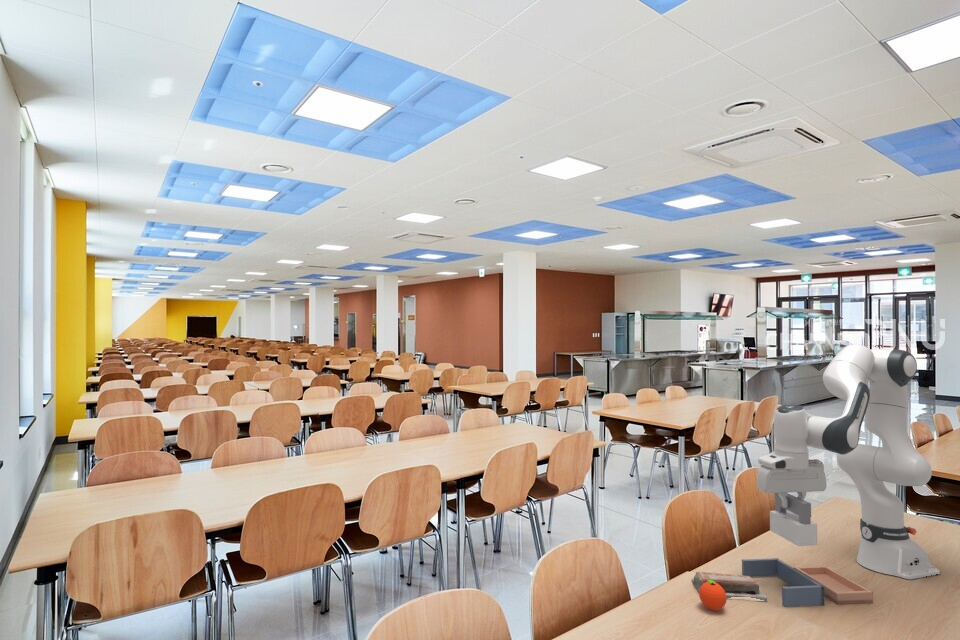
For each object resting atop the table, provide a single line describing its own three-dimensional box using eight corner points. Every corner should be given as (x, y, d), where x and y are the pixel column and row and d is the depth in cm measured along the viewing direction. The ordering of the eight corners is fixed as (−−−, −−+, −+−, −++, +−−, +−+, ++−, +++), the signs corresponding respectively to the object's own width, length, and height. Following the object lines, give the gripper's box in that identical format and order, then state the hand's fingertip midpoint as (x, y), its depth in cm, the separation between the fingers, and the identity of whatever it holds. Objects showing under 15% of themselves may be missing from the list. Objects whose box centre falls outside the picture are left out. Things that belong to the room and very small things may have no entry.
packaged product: (701, 581, 147) (691, 566, 157) (701, 598, 147) (691, 582, 156) (767, 586, 145) (753, 570, 154) (767, 603, 144) (753, 587, 154)
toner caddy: (788, 529, 159) (787, 490, 160) (817, 545, 147) (816, 503, 148) (770, 530, 159) (769, 491, 159) (798, 546, 147) (797, 503, 147)
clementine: (693, 599, 145) (693, 574, 145) (718, 600, 145) (718, 574, 145) (705, 614, 137) (704, 587, 137) (731, 615, 137) (731, 588, 137)
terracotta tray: (825, 575, 162) (825, 565, 162) (873, 602, 145) (872, 592, 145) (793, 576, 160) (793, 567, 161) (837, 604, 144) (837, 593, 144)
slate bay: (777, 574, 162) (777, 558, 162) (824, 605, 143) (824, 586, 143) (742, 575, 161) (741, 559, 161) (784, 607, 142) (784, 588, 142)
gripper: (815, 456, 158) (816, 501, 158) (753, 458, 156) (754, 504, 155) (831, 461, 152) (832, 508, 151) (767, 463, 149) (768, 511, 149)
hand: (792, 506), depth 153 cm, fingers closed on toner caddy, 2 cm apart
